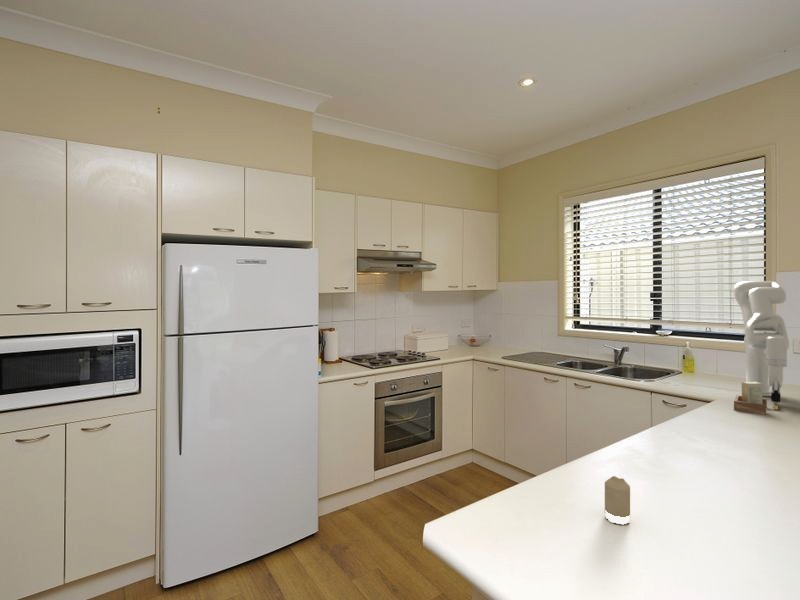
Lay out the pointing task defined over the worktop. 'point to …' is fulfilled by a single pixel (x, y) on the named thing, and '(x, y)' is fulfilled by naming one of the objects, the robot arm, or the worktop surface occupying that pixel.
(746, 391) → the skincare box
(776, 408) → the bar
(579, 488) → the worktop surface
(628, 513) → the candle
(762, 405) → the cradle
